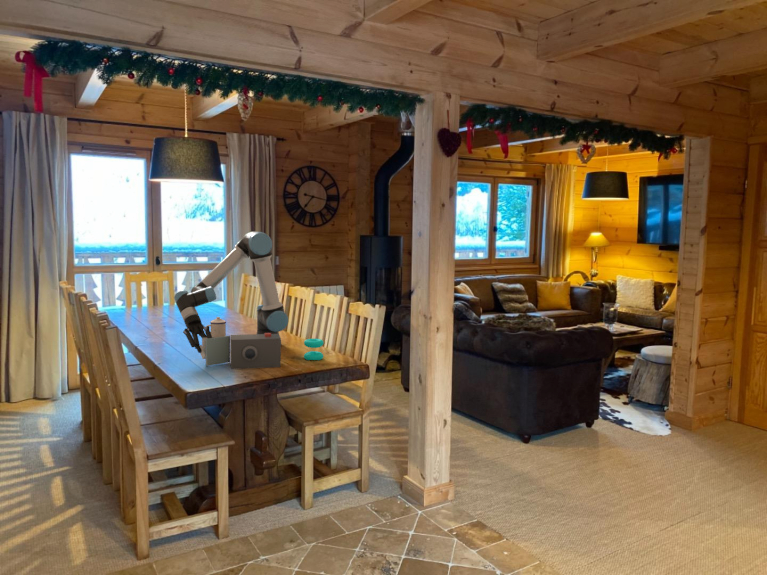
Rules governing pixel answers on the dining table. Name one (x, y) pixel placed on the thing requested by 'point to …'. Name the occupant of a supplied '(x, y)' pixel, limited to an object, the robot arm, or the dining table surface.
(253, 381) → the dining table surface
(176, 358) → the dining table surface
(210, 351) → the side door
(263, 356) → the camera body
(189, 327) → the robot arm
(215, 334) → the teacup with lid
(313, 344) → the donuts
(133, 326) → the dining table surface
